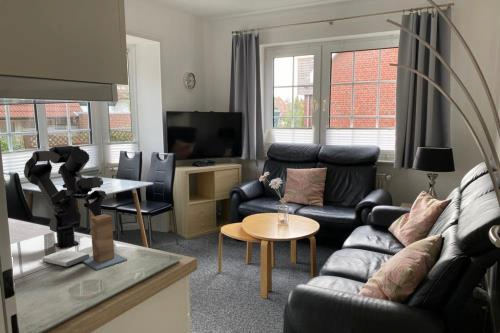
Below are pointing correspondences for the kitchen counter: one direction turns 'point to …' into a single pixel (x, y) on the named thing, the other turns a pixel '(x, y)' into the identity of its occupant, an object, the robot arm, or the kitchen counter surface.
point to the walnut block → (102, 238)
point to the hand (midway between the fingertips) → (89, 220)
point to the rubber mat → (105, 264)
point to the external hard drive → (65, 257)
